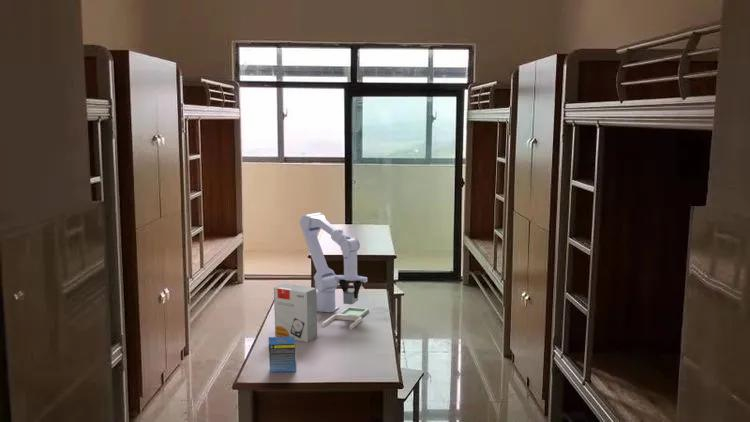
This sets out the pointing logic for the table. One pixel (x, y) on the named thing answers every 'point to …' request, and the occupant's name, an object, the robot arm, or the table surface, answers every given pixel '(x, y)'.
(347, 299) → the grey rectangular block
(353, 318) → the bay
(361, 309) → the tray
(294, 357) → the label tape cartridge
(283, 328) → the hard drive box
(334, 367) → the table surface
